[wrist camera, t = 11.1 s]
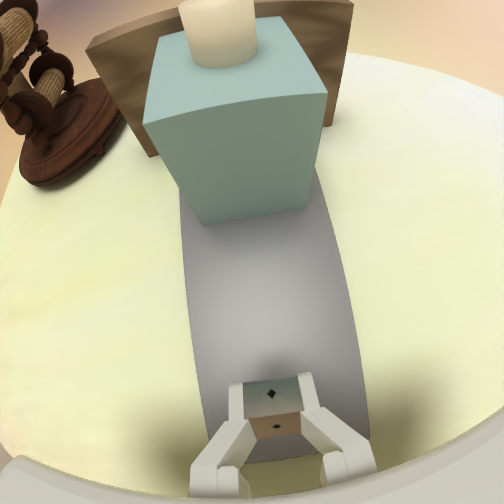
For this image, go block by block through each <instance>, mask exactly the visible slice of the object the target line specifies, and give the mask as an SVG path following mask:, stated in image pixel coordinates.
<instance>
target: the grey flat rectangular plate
mask: <svg viewBox="0 0 504 504" xmlns="http://www.w3.org/2000/svg"><path fill="white" fill-rule="evenodd" d="M179 195H180V218H181V235H182V250H183V262H184V274H185V285H186V295H187V304H188V313H189V321H190V330H191V337H192V345H193V352H194V359H195V365H196V372H197V378H198V384H199V390H200V396H201V401H202V407H203V412H204V417H205V422H206V427H207V432H208V437H209V442H210V440H211V439H212V438H213V436H214V435H215V434H216V432H217V431H218V430H219V428H220V427H221V426H222V424H223V423H224V421H229V385H230V384H232V383H241V382H251V381H260V380H268V379H272V378H277V377H283V376H288V375H294V374H296V375H297V374H301V373H306V372H311V374H312V377H313V381H314V385H315V389H316V393H317V397H318V401H319V405H320V407H325V408H326V409H328V410H329V411H330V412H331V413H333V414H334V415H335V416H336V417H338V418H339V419H340V420H342V421H343V422H344V423H345V424H347V425H348V426H349V427H351V428H352V429H353V430H355V431H356V432H357V433H359V434H360V435H361V436H363V437H364V438H365V439H367V440H368V439H370V433H369V421H368V411H367V402H366V393H365V385H364V378H363V370H362V364H361V357H360V351H359V345H358V339H357V333H356V328H355V322H354V317H353V312H352V307H351V302H350V297H349V292H348V288H347V283H346V279H345V274H344V270H343V266H342V262H341V258H340V253H339V249H338V246H337V242H336V238H335V234H334V230H333V227H332V223H331V219H330V216H329V212H328V209H327V205H326V202H325V198H324V195H323V192H322V189H321V185H320V182H319V179H318V176H317V173H316V169H315V166H314V171H313V176H312V181H311V185H310V190H309V195H308V199H307V204H306V208H305V209H300V210H294V211H287V212H281V213H275V214H269V215H263V216H257V217H251V218H245V219H239V220H234V221H228V222H223V223H217V224H212V225H206V226H202V225H201V223H200V222H199V220H198V218H197V217H196V215H195V213H194V212H193V210H192V208H191V207H190V205H189V203H188V202H187V200H186V199H185V197H184V195H183V193H182V192H181V190H180V188H179ZM315 453H320V452H319V451H318V450H317V449H316V448H315V447H314V446H313V445H312V444H311V443H310V442H309V441H308V440H307V439H306V438H305V437H304V436H303V435H302V434H301V433H297V434H291V435H283V436H276V437H270V438H263V439H257V442H256V443H255V445H254V447H253V449H252V451H251V452H250V454H249V456H248V457H247V459H246V461H245V463H256V462H266V461H274V460H281V459H288V458H294V457H300V456H305V455H310V454H315ZM245 463H244V464H245Z"/></svg>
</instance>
